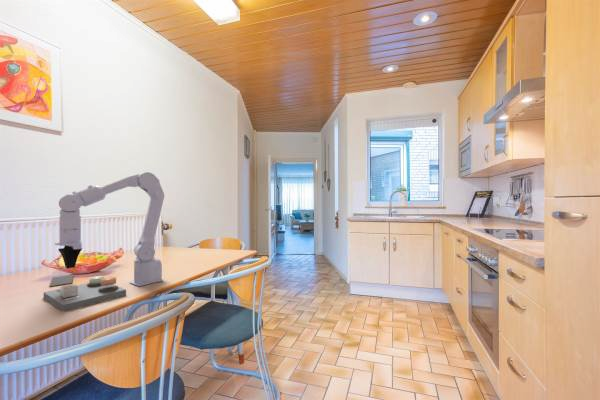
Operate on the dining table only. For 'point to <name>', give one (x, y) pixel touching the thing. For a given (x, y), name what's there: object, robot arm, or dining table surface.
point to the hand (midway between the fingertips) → (70, 267)
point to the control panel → (84, 296)
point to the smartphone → (61, 280)
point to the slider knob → (69, 290)
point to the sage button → (95, 280)
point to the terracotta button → (108, 281)
